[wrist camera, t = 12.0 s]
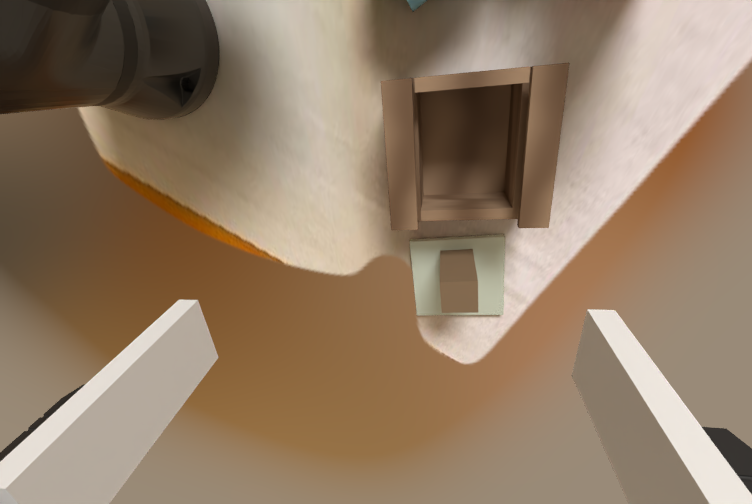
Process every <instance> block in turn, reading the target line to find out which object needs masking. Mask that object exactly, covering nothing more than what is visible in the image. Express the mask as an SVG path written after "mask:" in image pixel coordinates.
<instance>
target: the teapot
mask: <svg viewBox="0 0 752 504" xmlns="http://www.w3.org/2000/svg"><path fill="white" fill-rule="evenodd" d="M426 1H427V0H407V2H408V4H409V6H410V8H411V10H412V11H415V10H416V9H417V8H418V7H420V6H421V5H422V4H423V3H425V2H426Z"/></svg>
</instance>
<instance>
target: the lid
mask: <svg viewBox="0 0 752 504" xmlns="http://www.w3.org/2000/svg"><path fill="white" fill-rule="evenodd" d="M410 252H411V262H412V272H413V282H414V291H415V301H416V311H417V315H503V309H504V257H505V236H504V234H498V235H480V236H462V237H443V238H425V239H410Z"/></svg>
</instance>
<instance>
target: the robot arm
mask: <svg viewBox="0 0 752 504" xmlns="http://www.w3.org/2000/svg"><path fill="white" fill-rule="evenodd" d="M218 65H219V45H218V37H217V32H216V27H215V24H214V20H213V17H212V14H211V12H210V9H209V7H208V5H207V2H206V0H0V114H8V113H19V112H30V111H41V110H52V109H63V108H76V107H88V106H102V107H105V108H109V109H112V110H116V111H119V112H122V113H126V114H129V115H132V116H136V117H139V118H144V119H153V120H160V119H169V118H176V117H181V116H184V115H187V114H189V113H191V112H193V111H194V110H196V109H197V108H198V107H199V106H200V105H201V104H202V103H203V102H204V101H205V100H206V99H207V97H208V96H209V94H210V92H211V90H212V88H213V86H214V83H215V80H216V76H217V72H218ZM217 358H218V355H217V352H216V349H215V346H214V344H213V341H212V338H211V335H210V333H209V330H208V327H207V324H206V321H205V319H204V316H203V313H202V310H201V307H200V305H199V302H198V300H178V301H177V302H176V303H175V304H174V305H173V306H172V307H171V308H169V309H168V310H167V311H166V312H165V313H164V314H163V315H162V316H160V317H159V318H158V319H157V320H156V321H155V322H154V323H153V324H152V325H151V326H149V327H148V328H147V329H146V330H145V331H144V332H143V333H142V334H141V335H140V336H138V338H136V339H135V340H134V341H133V342H132V343H131V344H130V345H128V346H127V347H126V348H125V349H124V350H123V351H122V352H121V353H120V354H119V355H117V356H116V357H115V358H114V359H113V360H112V361H111V362H110V363H109V364H108V365H106V366H105V367H104V368H103V369H102V370H101V371H100V372H99V373H98V374H96V375H95V376H94V377H93V378H92V379H91V380H90V381H89V382H88V383H87V384H85V385H82V386H81V387H79V388H77V389H76V390H74V391H73V392H71V393H69V394H68V395H66V396H65V397H63V398H62V399H60V400H59V401H58V402H57V403H56V404H55V405H54V406H53V407H51V408H50V409H49V410H48V411H47V412H46V413H45V414H44V417H42V418H39V419H38V420H37V421H36V422H34V423H33V424H32V425H31V426H30V427H29V429H28V431H24V432H23V433H22V434H21V435H20V436H19V437H18V438H16V439H15V440H14V441H13V442H12V443H11V444H10V445H9V446H7V447H6V448H5V449H4V450H3V451H2V452H1V453H0V504H109V503H110V502H111V500H112V499H113V498H114V496H115V495H116V494H117V492H118V491H119V490H120V488H121V487H122V486H123V484H124V483H125V482H126V480H127V479H128V478H129V476H130V475H131V474H132V472H133V471H134V470H135V468H136V467H137V466H138V464H139V463H140V462H141V460H142V459H143V457H144V456H145V455H146V453H147V452H148V451H149V450H150V448H151V447H152V446H153V444H154V443H155V442H156V440H157V439H158V437H159V436H160V435H161V434H162V432H163V431H164V429H165V428H166V427H167V425H168V424H169V423H170V421H171V420H172V419H173V417H174V416H175V415H176V413H177V412H178V411H179V409H180V408H181V407H182V405H183V404H184V403H185V401H186V400H187V399H188V397H189V396H190V395H191V393H192V392H193V391H194V389H195V388H196V387H197V385H198V384H199V383H200V381H201V380H202V379H203V377H204V376H205V375H206V373H207V372H208V371H209V369H210V368H211V367H212V365H213V364H214V363H215V361H216V360H217ZM572 377H573V380H574V382H575V384H576V387H577V389H578V391H579V393H580V396H581V398H582V400H583V402H584V404H585V407H586V409H587V411H588V414H589V416H590V418H591V420H592V423H593V425H594V427H595V429H596V432H597V434H598V436H599V438H600V441H601V443H602V445H603V448H604V450H605V452H606V454H607V456H608V459H609V461H610V463H611V465H612V468H613V470H614V472H615V474H616V477H617V479H618V481H619V483H620V486H621V488H622V490H623V492H624V495H625V497H626V499H627V501H628V504H752V449H751V448H750V447H749V446H748V445H746V444H745V443H744V442H742V441H741V440H740V439H738V438H737V437H736V436H735V435H734V434H732V433H731V432H730V431H728V430H727V429H723V428H708V427H701V426H700V425H699V423H698V422H697V420H696V419H695V418H694V416H693V415H692V414H691V412H690V411H689V410H688V408H687V407H686V406H685V404H684V403H683V402H682V400H681V399H680V397H679V396H678V395H677V393H676V392H675V391H674V389H673V388H672V387H671V385H670V384H669V383H668V381H667V380H666V379H665V377H664V376H663V375H662V373H661V372H660V371H659V369H658V368H657V366H656V365H655V364H654V362H652V360H651V358H650V357H649V356H648V354H647V353H646V352H645V350H644V349H643V348H642V346H641V345H640V344H639V342H638V341H637V340H636V338H635V337H634V335H633V334H632V333H631V331H630V330H629V329H628V327H627V326H626V325H625V323H624V322H623V321H622V319H621V318H620V317H619V315H618V314H617V312H616V311H615V310H587V313H586V317H585V321H584V326H583V330H582V334H581V339H580V343H579V347H578V351H577V356H576V360H575V364H574V369H573V373H572Z"/></svg>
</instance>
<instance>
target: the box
mask: <svg viewBox="0 0 752 504" xmlns="http://www.w3.org/2000/svg"><path fill="white" fill-rule="evenodd" d="M568 70H569V63H562V64H552V65H542V66H532V67H521V68H511V69H500V70H490V71H480V72H469V73H459V74H449V75H439V76H428V77H418V78H408V79H397V80H387V81H381V91H382V105H383V119H384V132H385V146H386V160H387V174H388V188H389V202H390V215H391V229H392V230H418V221H443V220H490V219H518V224H517V225H518V227H519V228H549V220H550V212H551V205H552V197H553V189H554V181H555V173H556V165H557V157H558V149H559V141H560V134H561V126H562V118H563V110H564V102H565V94H566V86H567V78H568Z"/></svg>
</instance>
